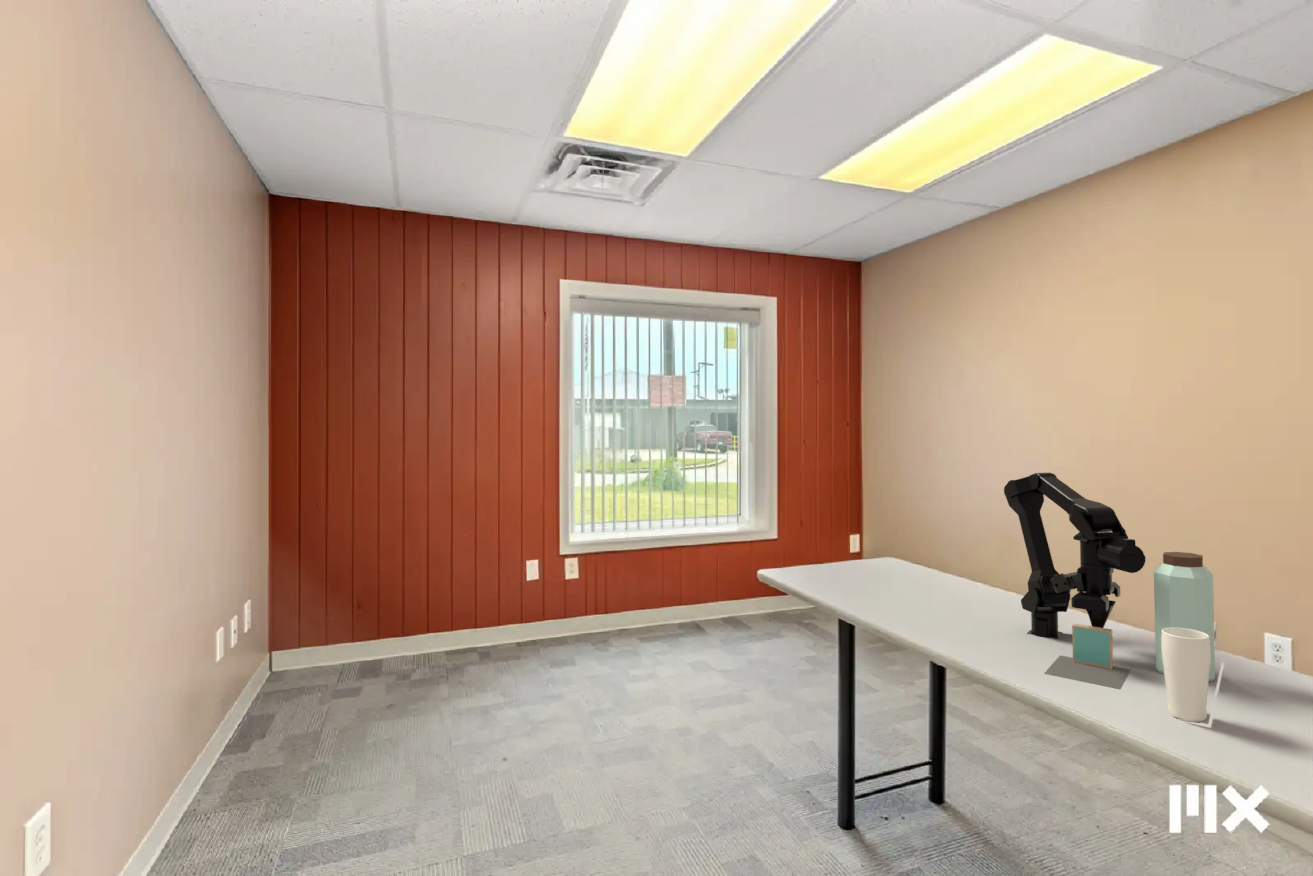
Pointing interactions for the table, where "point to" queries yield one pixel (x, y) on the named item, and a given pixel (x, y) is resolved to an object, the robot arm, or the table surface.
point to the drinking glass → (1186, 672)
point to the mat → (1088, 672)
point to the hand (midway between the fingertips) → (1097, 633)
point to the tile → (1092, 645)
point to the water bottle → (1183, 599)
